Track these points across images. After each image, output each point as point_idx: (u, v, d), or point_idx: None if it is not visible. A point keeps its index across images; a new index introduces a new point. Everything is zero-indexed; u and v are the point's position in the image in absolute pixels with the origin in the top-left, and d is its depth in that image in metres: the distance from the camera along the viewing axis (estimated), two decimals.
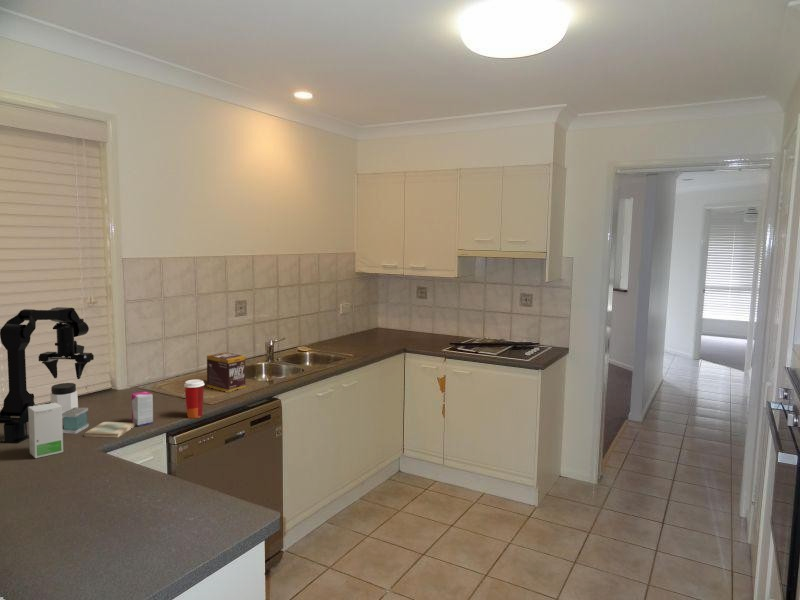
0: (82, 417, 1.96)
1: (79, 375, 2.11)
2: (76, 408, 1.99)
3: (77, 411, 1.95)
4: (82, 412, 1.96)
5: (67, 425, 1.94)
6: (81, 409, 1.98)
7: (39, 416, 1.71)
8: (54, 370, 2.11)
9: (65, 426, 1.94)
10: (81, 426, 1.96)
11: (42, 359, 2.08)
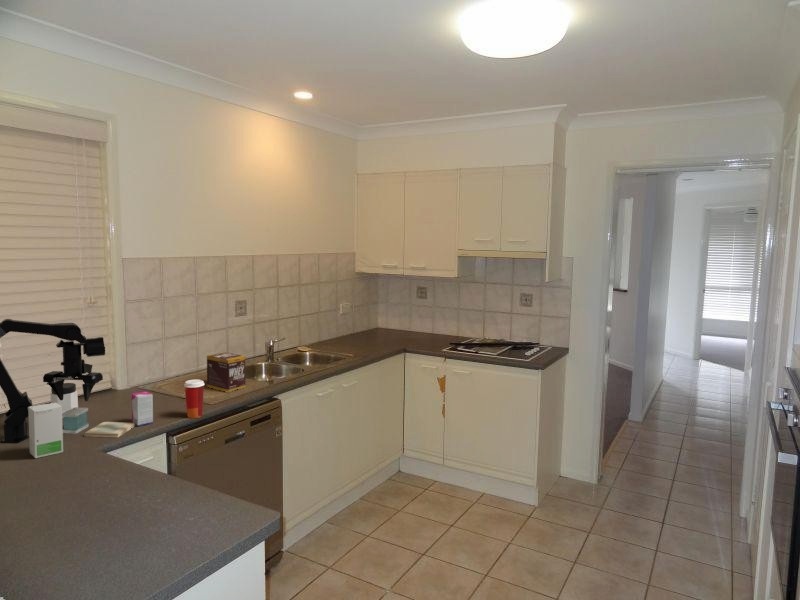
0: (82, 417, 1.96)
1: (87, 397, 1.95)
2: (76, 408, 1.99)
3: (77, 411, 1.95)
4: (82, 412, 1.96)
5: (67, 425, 1.94)
6: (81, 409, 1.98)
7: (39, 416, 1.71)
8: (60, 391, 1.95)
9: (65, 426, 1.94)
10: (81, 426, 1.96)
11: (47, 380, 1.92)
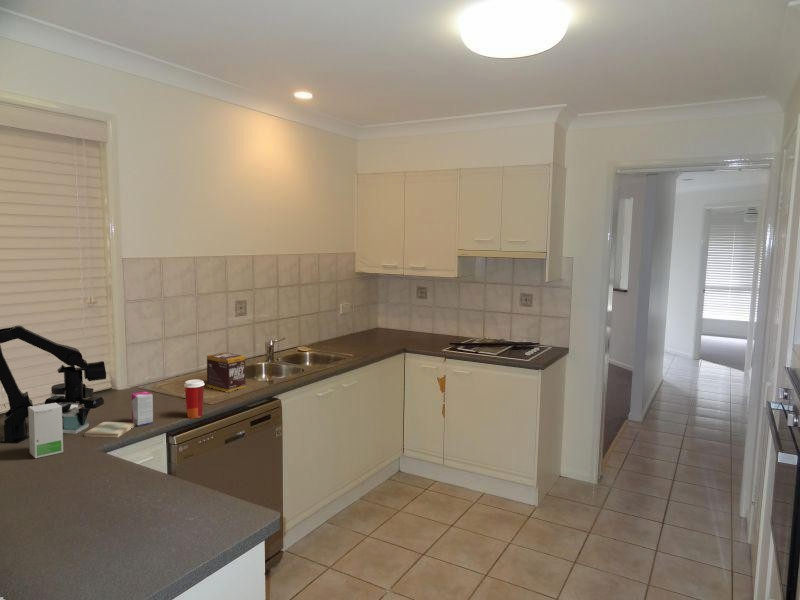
0: None
1: (83, 421, 1.96)
2: (76, 408, 1.99)
3: (77, 411, 1.95)
4: None
5: (67, 425, 1.94)
6: None
7: (39, 416, 1.71)
8: None
9: (65, 426, 1.94)
10: (81, 426, 1.96)
11: None
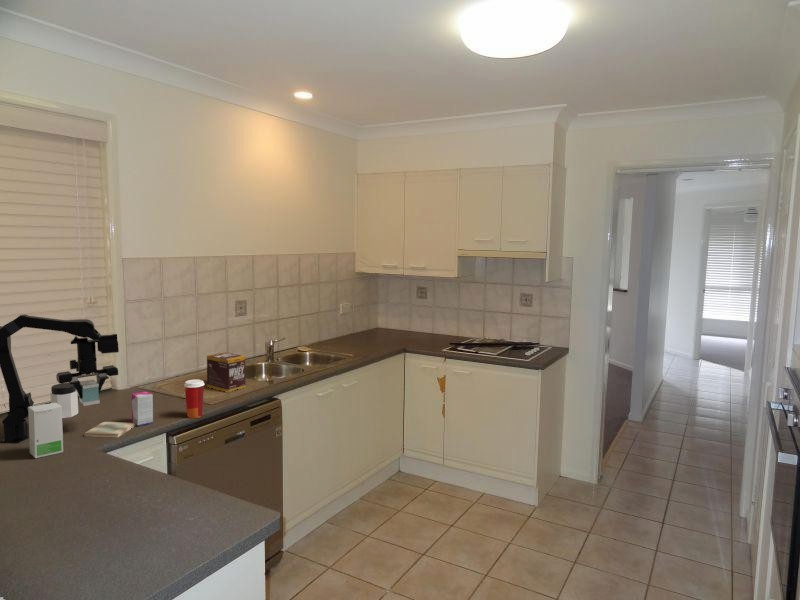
0: None
1: None
2: (83, 381, 1.96)
3: (93, 382, 1.95)
4: None
5: (87, 397, 1.93)
6: (91, 381, 1.97)
7: (39, 416, 1.71)
8: None
9: (85, 398, 1.92)
10: None
11: (66, 380, 1.87)
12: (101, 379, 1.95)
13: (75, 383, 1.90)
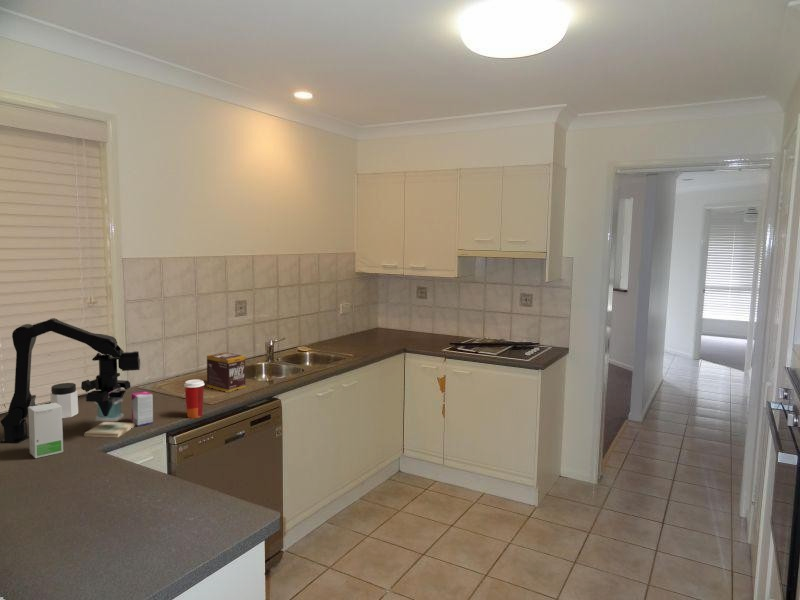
0: None
1: None
2: None
3: (112, 398, 1.96)
4: None
5: (115, 412, 1.94)
6: None
7: (39, 416, 1.71)
8: None
9: (114, 414, 1.94)
10: None
11: (105, 398, 1.87)
12: (122, 393, 1.98)
13: (109, 400, 1.90)
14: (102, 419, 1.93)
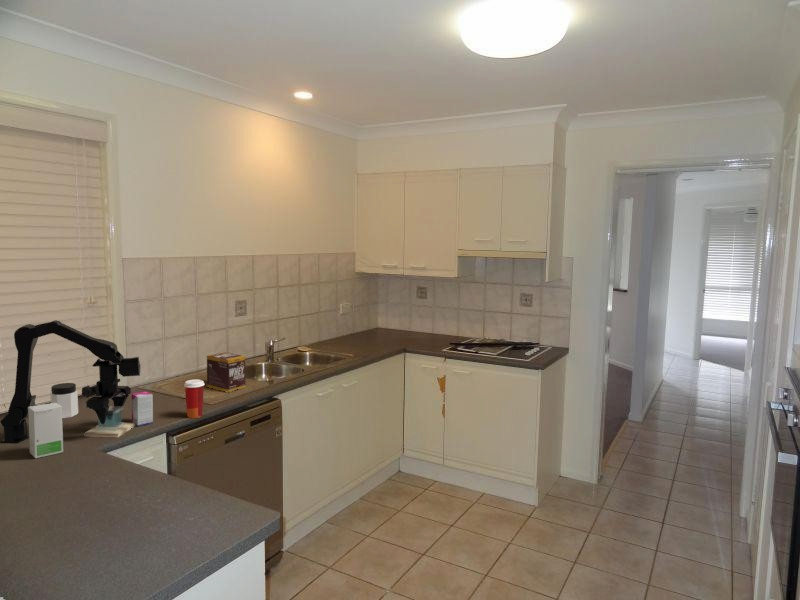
0: None
1: None
2: None
3: (113, 407, 1.97)
4: None
5: (115, 421, 1.95)
6: None
7: (39, 416, 1.71)
8: None
9: (114, 423, 1.94)
10: None
11: (105, 404, 1.87)
12: (125, 397, 2.00)
13: (107, 407, 1.89)
14: (103, 428, 1.94)
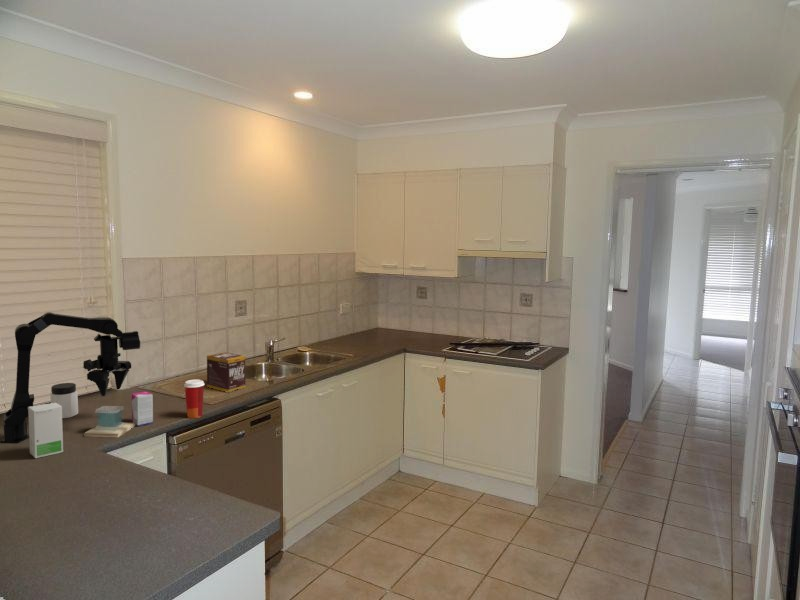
0: None
1: None
2: (100, 408, 1.94)
3: (113, 407, 1.97)
4: None
5: (115, 421, 1.95)
6: (107, 406, 1.97)
7: (39, 416, 1.71)
8: None
9: (114, 423, 1.94)
10: None
11: (106, 376, 1.94)
12: (126, 372, 2.07)
13: (107, 380, 1.95)
14: (103, 428, 1.94)
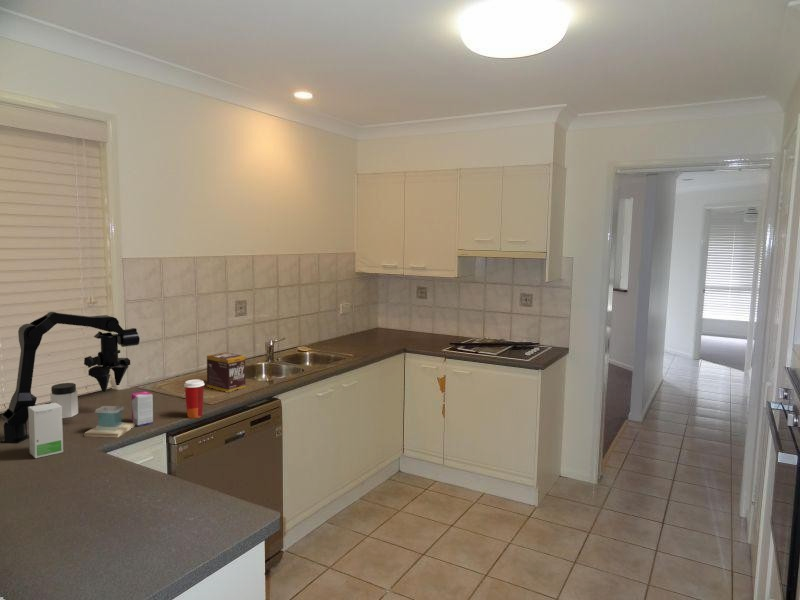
0: None
1: None
2: (100, 408, 1.94)
3: (113, 407, 1.97)
4: None
5: (115, 421, 1.95)
6: (107, 406, 1.97)
7: (39, 416, 1.71)
8: None
9: (114, 423, 1.94)
10: None
11: (107, 372, 2.00)
12: (125, 368, 2.13)
13: (108, 376, 2.01)
14: (103, 428, 1.94)
